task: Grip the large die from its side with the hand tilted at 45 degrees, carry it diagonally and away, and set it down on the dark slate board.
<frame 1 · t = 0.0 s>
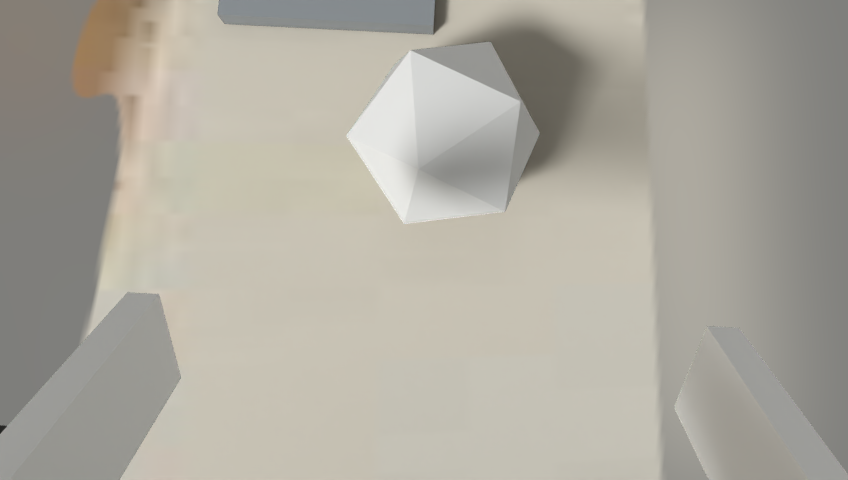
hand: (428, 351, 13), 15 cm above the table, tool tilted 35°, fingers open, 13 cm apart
die: (444, 156, 29), on the table
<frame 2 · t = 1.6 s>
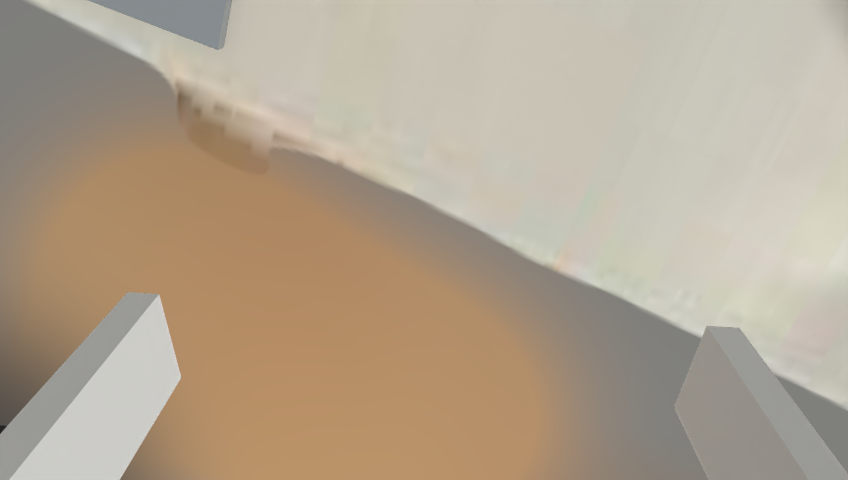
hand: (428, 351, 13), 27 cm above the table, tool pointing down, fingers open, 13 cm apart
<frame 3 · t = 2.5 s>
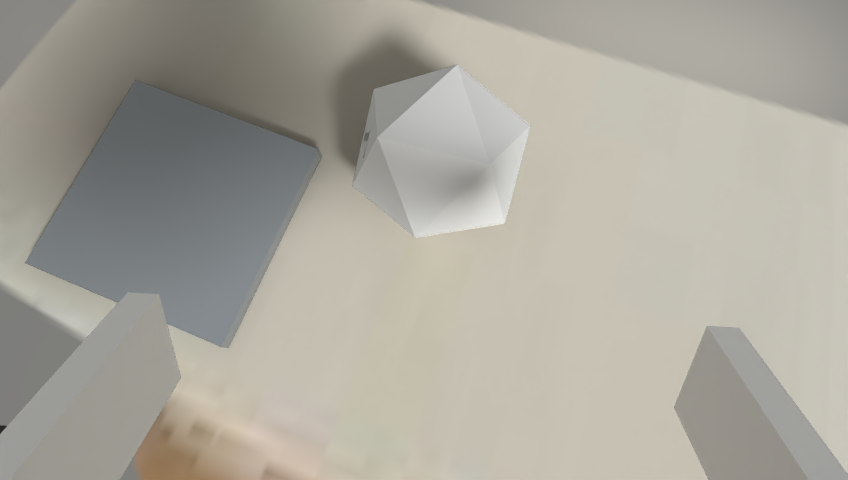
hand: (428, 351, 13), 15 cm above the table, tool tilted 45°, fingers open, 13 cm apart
slate board: (183, 209, 30), on the table
die: (437, 184, 31), on the table
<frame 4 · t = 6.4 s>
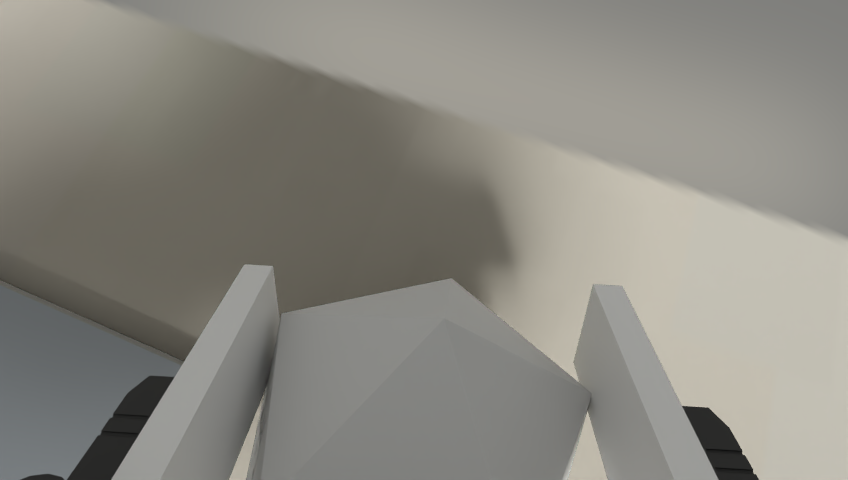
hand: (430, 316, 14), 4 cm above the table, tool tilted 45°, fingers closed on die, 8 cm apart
die: (413, 430, 18), on the table, touching gripper
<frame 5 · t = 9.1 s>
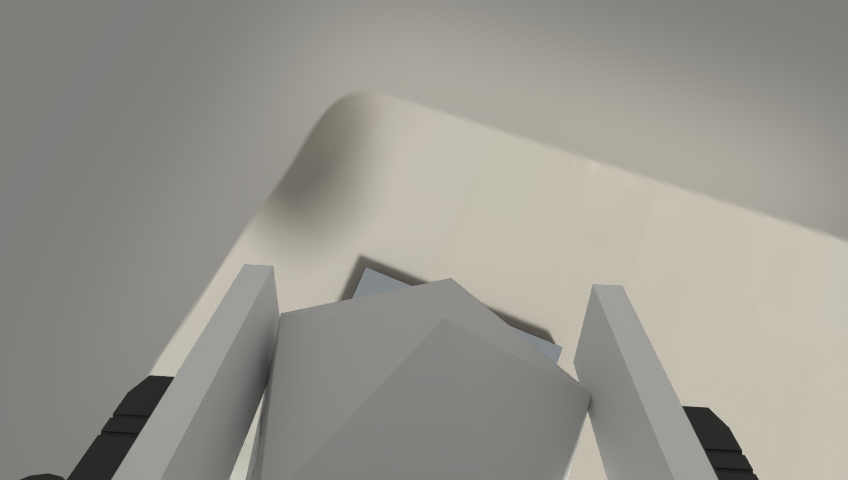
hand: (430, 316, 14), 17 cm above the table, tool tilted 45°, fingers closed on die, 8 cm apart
slate board: (422, 407, 29), on the table
die: (413, 430, 18), point 12 cm above the table, touching gripper
when the fingers open (6 cm above the table, at t = 11.9 s): die stays where it is, resting on slate board.
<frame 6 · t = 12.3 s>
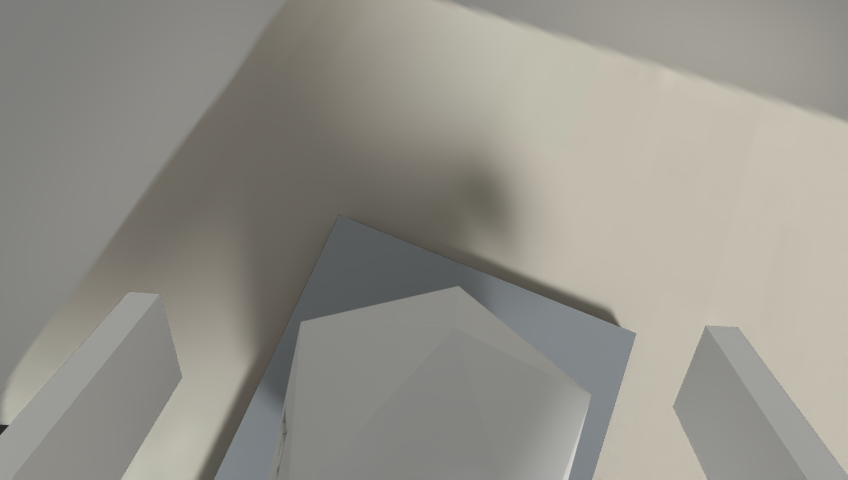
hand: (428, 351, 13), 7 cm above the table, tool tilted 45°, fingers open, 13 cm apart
slate board: (423, 425, 19), on the table
die: (423, 429, 19), point 1 cm above the table, touching slate board
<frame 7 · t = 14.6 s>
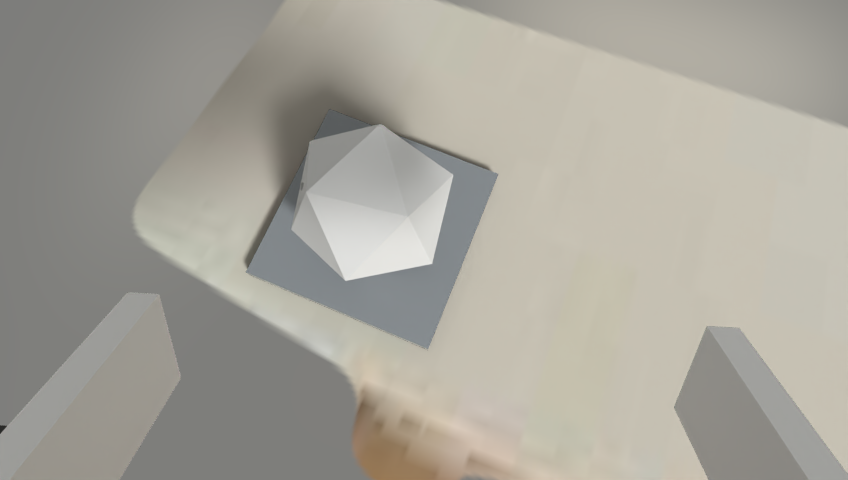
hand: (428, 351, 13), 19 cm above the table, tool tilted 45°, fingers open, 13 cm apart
slate board: (376, 226, 34), on the table
die: (376, 223, 33), point 1 cm above the table, touching slate board
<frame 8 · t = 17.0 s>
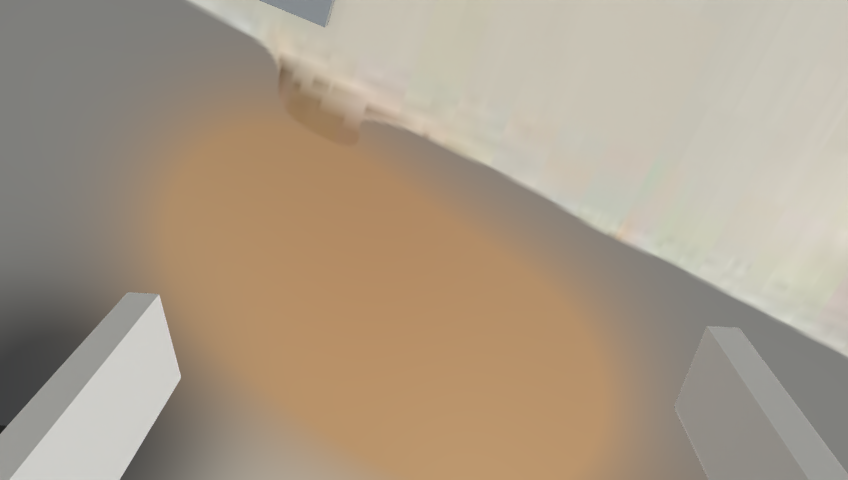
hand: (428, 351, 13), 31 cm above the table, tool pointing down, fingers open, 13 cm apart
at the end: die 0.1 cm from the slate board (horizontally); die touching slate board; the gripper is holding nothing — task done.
